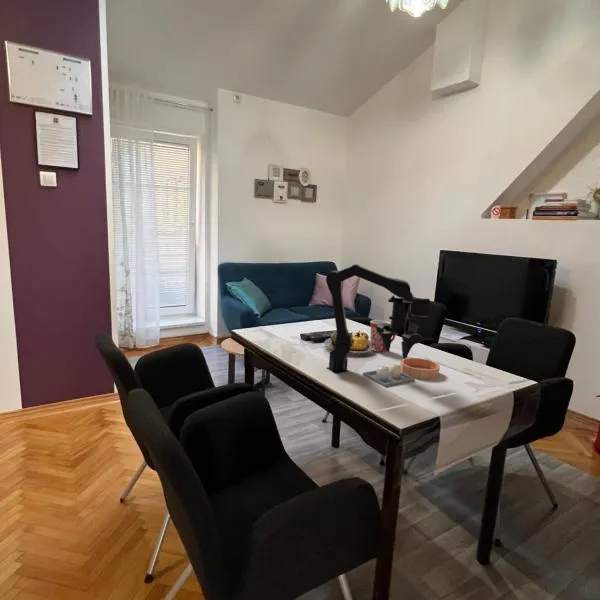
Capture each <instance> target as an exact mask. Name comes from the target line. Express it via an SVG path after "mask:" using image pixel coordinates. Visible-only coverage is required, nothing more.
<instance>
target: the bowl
mask: <svg viewBox="0 0 600 600" xmlns="http://www.w3.org/2000/svg"><path fill="white" fill-rule="evenodd" d="M400 365H401V372H402V373H404V374H406V375H408V376H410V377H412V378H414V379H419V380H432V379H437V378H438V377H439V376H440V365H439V363H438V362H435V361H432V360H431V359H425V358H421V357H406V359H403V358H402V360H401V361H400Z"/></svg>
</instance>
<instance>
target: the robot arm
mask: <svg viewBox="0 0 600 600" xmlns="http://www.w3.org/2000/svg"><path fill="white" fill-rule="evenodd" d="M353 277H357V278H360V279H362V280H365V281H368V282H369V283H370V282H371V283H372V284H375V285H377V286H380V287H383V288H384V289H385V290H387V291H388V292H389V293H392V295H391V297H389V298H388V300H387V301H388V303H391V304H392V311H391V316H389V318H388V319H389V320H391V322H390V324H388V323H384V324H378V326H377V329H376V331H378V334H380V337H381V339H382V341H383V343H384V346H385V348H386V351H385V352H390V349H391V344H392V343H391V339H392V338H393V335H394V334H396V336H398V337H401V339H402V341H401V342H400V343H401V353H402V360H403V359H406V358H408V355H409V353H410V352H411V350H412V348H413V346H414V345H416V344H417V345H418V344H419V343H422V335H421V334H419V333H417V332H418V329H419V327H420V325H419V324H418V323H417V324H416V323H414V322H411V318H410V317H408V315H409V313H410V314H411V315H412V317H421V318H422V317H423V318H429V317H430V311H431V309H430V302H431V301H430V298H421V297H420V298H419V297H418V298H417V297H415V296H414V294H413V293H412V291H411V285H410V283H409V282H408V281H406V280H405V279H398V278H392V277H389V276H388V277H387V276H386V275H382V274H380V273H378V272H376V271H374V270H371V269H368V268H366V267H364V266H361V265H360V264H358V263H356V264H353V265H351V266H349V267H346V268H343V269H342V270H332V271H331V272H329V273H328V274H327V275H326V277H325V282H326V285H327V289H328V291H329V292H330V295H331V300H332V305H333V313H334V320H335V321H334V322H335V328H336V336H335V345H334V346H333V347H332V348H331V350H330V352H329V357H328V358H329V360H328V361H329V362H328V367H326V369H327V370H328V371H330V372H331V373H333V374H341V373H346V372H347V373H348V372H349V370H348V362H349V361H348V354H349V353H351V349H352V348H353V345H354V343H355V341H354V339H353V332H349V329H348V327H347V326H348V324H347V318H346V311H345V304H344V297H343V296H344V295H343V290H344V281H346V280H348V279H350V278H353ZM395 296H396V297H395ZM404 299H405V300H404ZM409 306H410V307H409Z"/></svg>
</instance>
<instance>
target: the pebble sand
mask: <svg viewBox="0 0 600 600" xmlns="http://www.w3.org/2000/svg"><path fill="white" fill-rule="evenodd" d="M388 366H389V367H388V368H389V377H390V378H393V379H399V378H400V375H401V364H398V363H390V364H389V365H388Z"/></svg>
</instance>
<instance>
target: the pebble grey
mask: <svg viewBox="0 0 600 600" xmlns="http://www.w3.org/2000/svg"><path fill="white" fill-rule="evenodd" d="M376 370H377V375H376V379H378V380H380V381H388V376H389V367H388V366H386V365H378V366H377V367H376Z"/></svg>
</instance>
